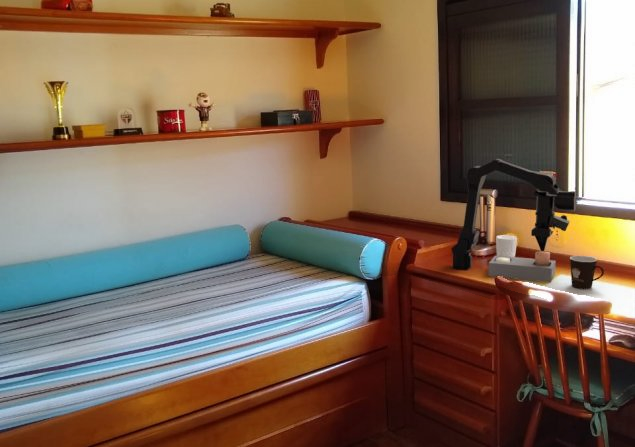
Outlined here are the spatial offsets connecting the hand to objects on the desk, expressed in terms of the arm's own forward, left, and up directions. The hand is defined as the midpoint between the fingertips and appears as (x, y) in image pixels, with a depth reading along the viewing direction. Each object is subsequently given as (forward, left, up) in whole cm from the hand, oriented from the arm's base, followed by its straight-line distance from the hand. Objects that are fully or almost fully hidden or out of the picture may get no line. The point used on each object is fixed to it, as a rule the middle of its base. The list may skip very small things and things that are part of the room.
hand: (542, 251), depth 233 cm
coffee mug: (+15, -9, -10) cm, 20 cm away
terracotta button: (0, 0, -5) cm, 5 cm away
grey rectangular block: (-7, 0, -10) cm, 12 cm away
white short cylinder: (-14, 0, -9) cm, 16 cm away
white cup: (-16, +18, -10) cm, 26 cm away
